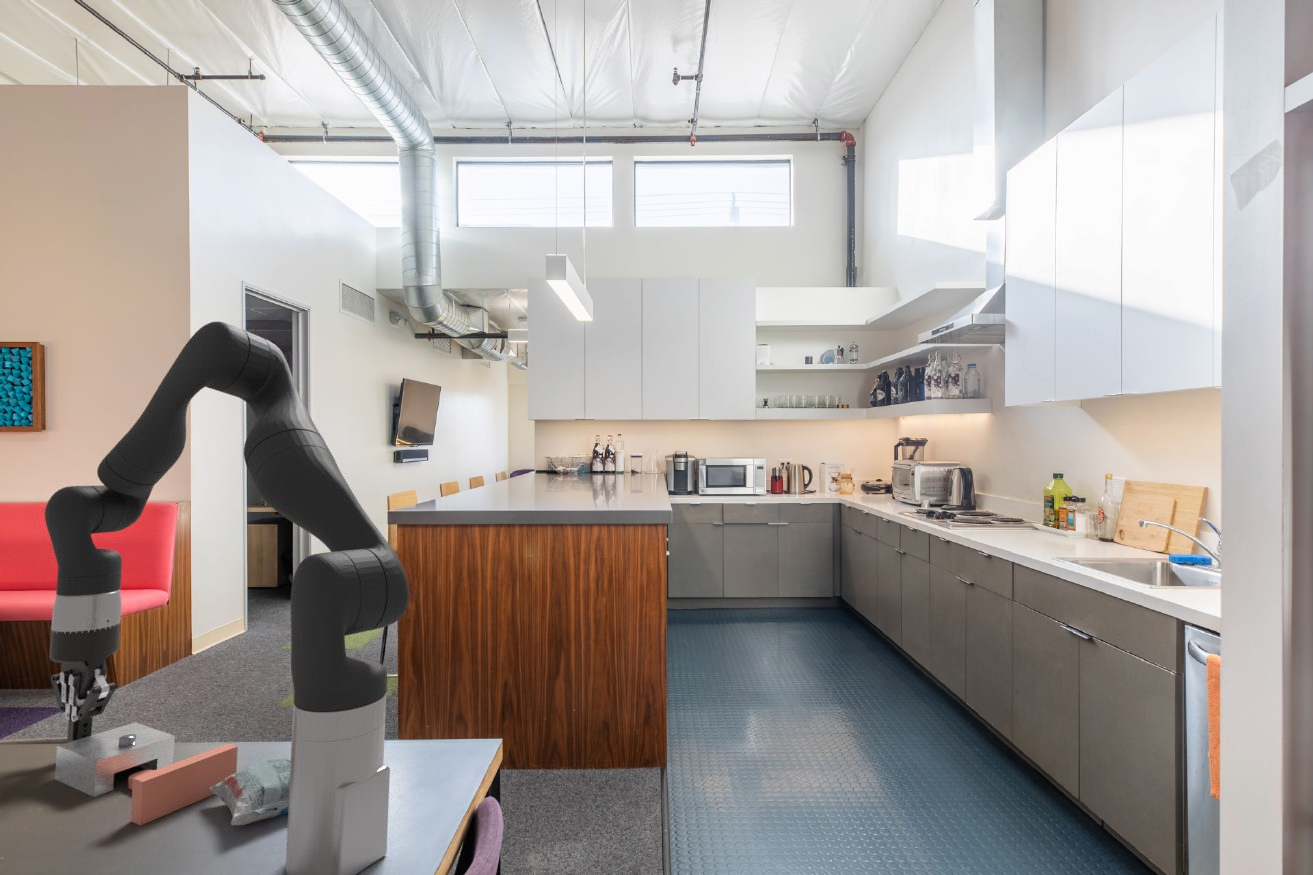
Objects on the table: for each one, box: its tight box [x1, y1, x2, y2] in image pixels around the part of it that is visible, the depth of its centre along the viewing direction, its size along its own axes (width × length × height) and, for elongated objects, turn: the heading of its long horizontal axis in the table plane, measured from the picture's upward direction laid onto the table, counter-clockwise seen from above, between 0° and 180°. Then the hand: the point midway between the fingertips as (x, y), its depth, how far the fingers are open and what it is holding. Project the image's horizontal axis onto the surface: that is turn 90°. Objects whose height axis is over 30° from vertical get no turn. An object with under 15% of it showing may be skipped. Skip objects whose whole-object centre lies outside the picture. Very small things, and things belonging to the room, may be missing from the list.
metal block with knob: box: [54, 722, 176, 797], centre depth 88 cm, size 10×9×6 cm
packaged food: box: [209, 758, 291, 826], centre depth 79 cm, size 9×12×5 cm
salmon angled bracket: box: [127, 743, 239, 826], centre depth 83 cm, size 12×11×5 cm
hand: (78, 744), depth 92 cm, fingers closed
